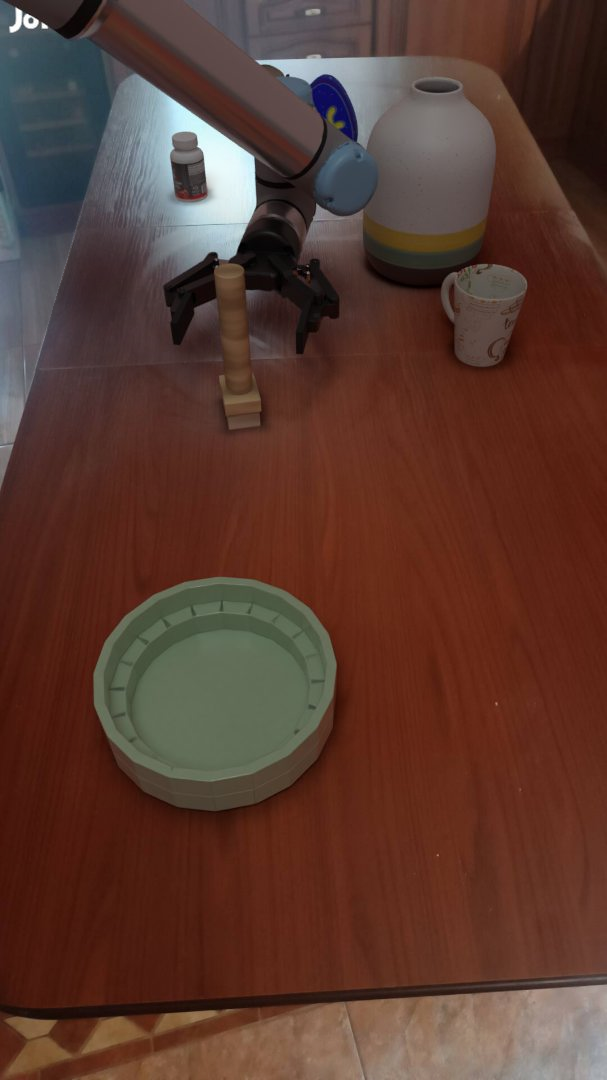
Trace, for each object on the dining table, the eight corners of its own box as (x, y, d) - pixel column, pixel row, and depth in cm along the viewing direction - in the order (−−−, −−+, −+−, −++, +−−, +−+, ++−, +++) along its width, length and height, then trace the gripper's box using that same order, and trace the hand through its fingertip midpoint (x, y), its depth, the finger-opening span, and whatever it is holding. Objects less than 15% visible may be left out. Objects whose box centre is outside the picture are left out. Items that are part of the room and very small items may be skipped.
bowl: (104, 635, 71) (91, 595, 67) (310, 602, 73) (309, 562, 69) (110, 836, 58) (95, 803, 54) (358, 789, 61) (361, 753, 57)
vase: (336, 268, 116) (339, 86, 98) (411, 229, 124) (426, 54, 106) (428, 311, 107) (449, 120, 90) (502, 266, 116) (534, 83, 98)
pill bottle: (169, 197, 133) (160, 135, 126) (194, 188, 136) (187, 126, 129) (188, 207, 130) (181, 145, 123) (214, 197, 133) (208, 135, 126)
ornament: (289, 178, 138) (286, 82, 127) (299, 158, 144) (297, 64, 133) (353, 182, 136) (355, 85, 125) (360, 161, 142) (363, 67, 132)
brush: (221, 403, 94) (205, 259, 81) (255, 399, 95) (245, 255, 81) (227, 433, 90) (212, 286, 77) (262, 428, 91) (253, 282, 78)
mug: (476, 381, 96) (488, 307, 89) (410, 335, 104) (417, 262, 96) (526, 359, 99) (542, 285, 92) (459, 315, 107) (469, 243, 99)
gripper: (370, 279, 101) (351, 377, 87) (179, 267, 104) (130, 359, 90) (372, 222, 96) (353, 315, 82) (171, 211, 99) (118, 299, 84)
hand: (236, 338), depth 86 cm, fingers open, 13 cm apart
